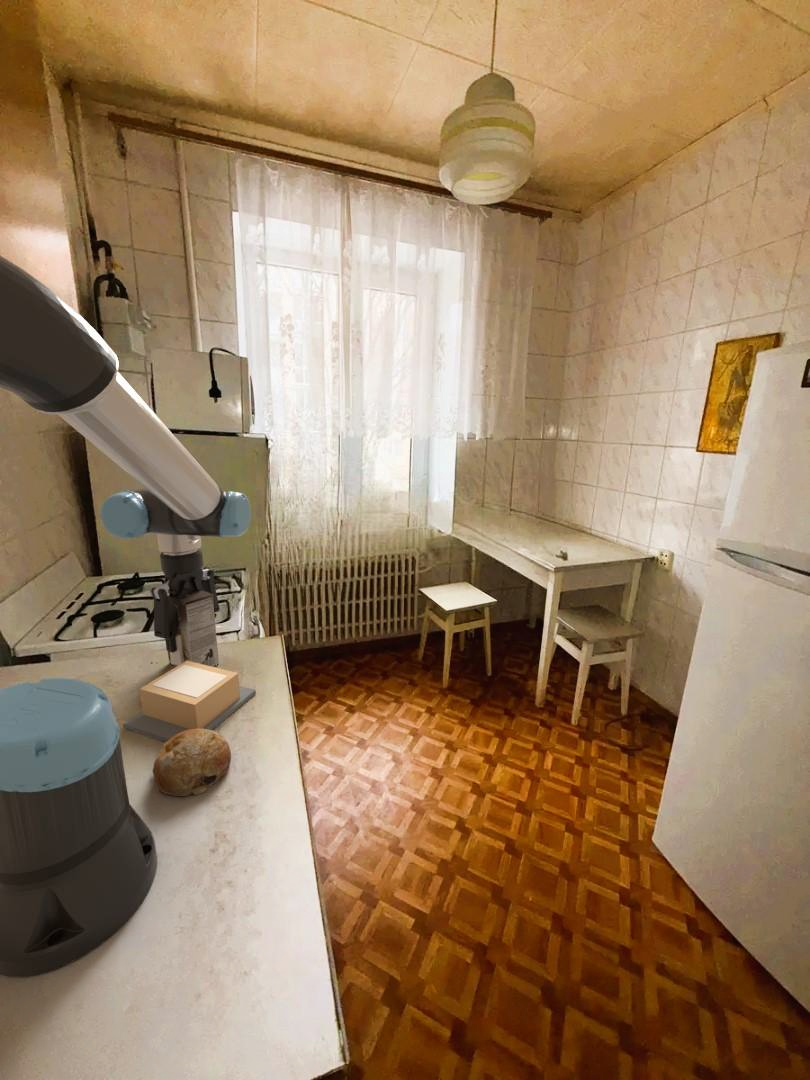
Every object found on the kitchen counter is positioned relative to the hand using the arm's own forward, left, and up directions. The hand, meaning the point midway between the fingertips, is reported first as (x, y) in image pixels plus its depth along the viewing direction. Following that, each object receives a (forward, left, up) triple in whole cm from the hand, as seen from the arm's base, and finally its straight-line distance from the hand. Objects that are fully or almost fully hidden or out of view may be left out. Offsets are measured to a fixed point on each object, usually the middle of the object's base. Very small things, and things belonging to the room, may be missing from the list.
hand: (193, 654), depth 92 cm
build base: (-12, -12, -2) cm, 17 cm away
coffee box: (0, 0, -2) cm, 2 cm away
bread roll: (-23, -23, -2) cm, 33 cm away
